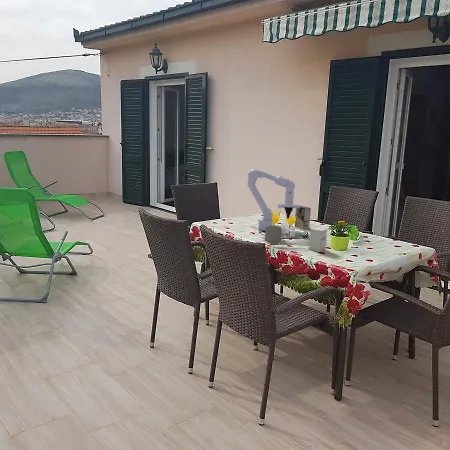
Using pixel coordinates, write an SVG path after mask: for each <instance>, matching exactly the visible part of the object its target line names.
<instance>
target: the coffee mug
mask: <svg viewBox="0 0 450 450" xmlns="http://www.w3.org/2000/svg"><path fill="white" fill-rule="evenodd" d="M264 234H265V235H264V241H265V242H267V243H269V244H270V245H271V246H279V245H278V243H281V242H282V238H281V235H282V227H280V225H273V224H272V225H270V226H266V229H265V232H264ZM270 245H269V246H270Z"/></svg>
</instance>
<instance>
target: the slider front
mask: <svg viewBox="0 0 450 450" xmlns="http://www.w3.org/2000/svg"><path fill="white" fill-rule="evenodd" d="M289 231H290V237H295V232H296V230H295V229H290V230H289Z"/></svg>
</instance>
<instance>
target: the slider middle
mask: <svg viewBox="0 0 450 450" xmlns="http://www.w3.org/2000/svg"><path fill="white" fill-rule="evenodd" d="M286 231H287V227H286V226H285V227H282V234H286Z"/></svg>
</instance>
